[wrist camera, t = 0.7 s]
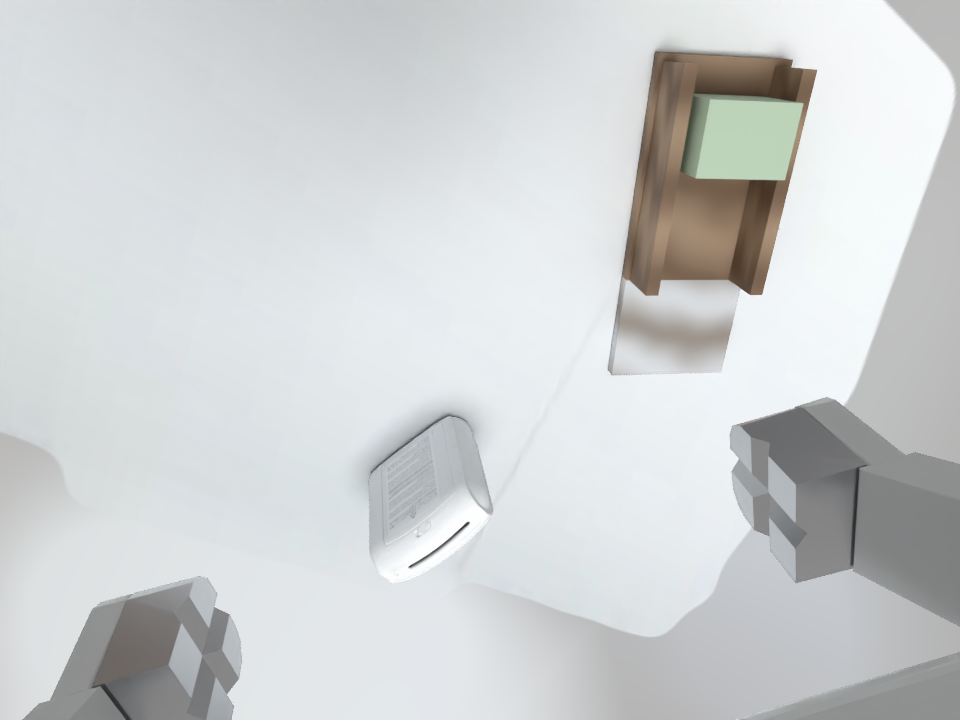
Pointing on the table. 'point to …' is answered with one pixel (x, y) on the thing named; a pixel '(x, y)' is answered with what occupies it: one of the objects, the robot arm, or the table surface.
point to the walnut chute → (696, 222)
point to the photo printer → (427, 501)
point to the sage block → (740, 137)
